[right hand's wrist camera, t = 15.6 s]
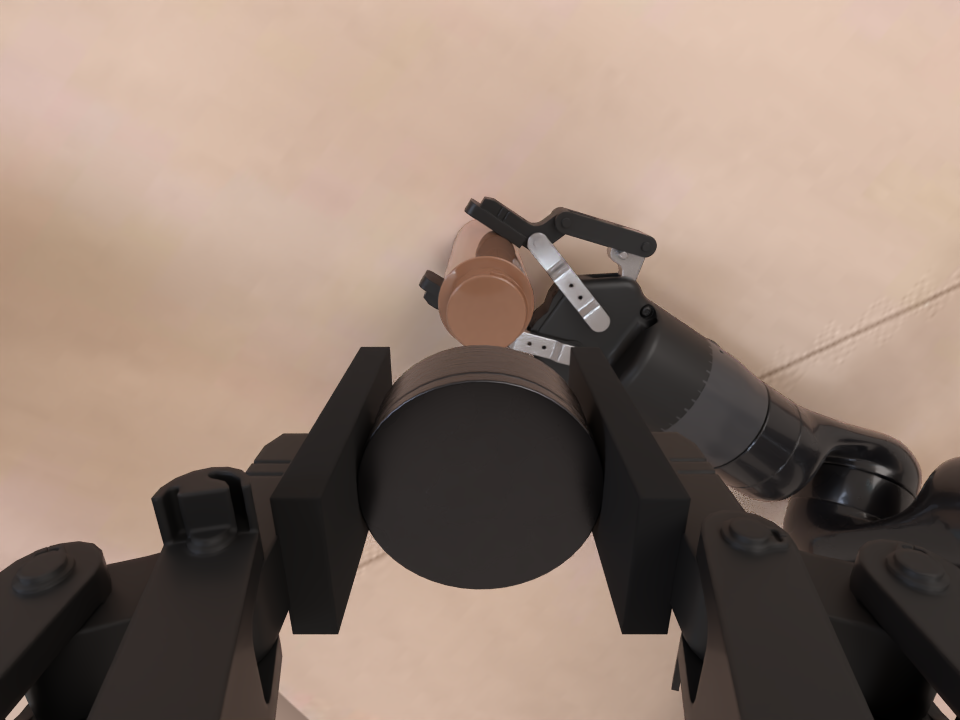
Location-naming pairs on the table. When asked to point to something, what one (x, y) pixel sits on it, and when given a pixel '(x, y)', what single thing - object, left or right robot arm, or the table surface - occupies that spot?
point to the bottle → (485, 289)
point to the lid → (480, 469)
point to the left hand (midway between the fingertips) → (446, 243)
